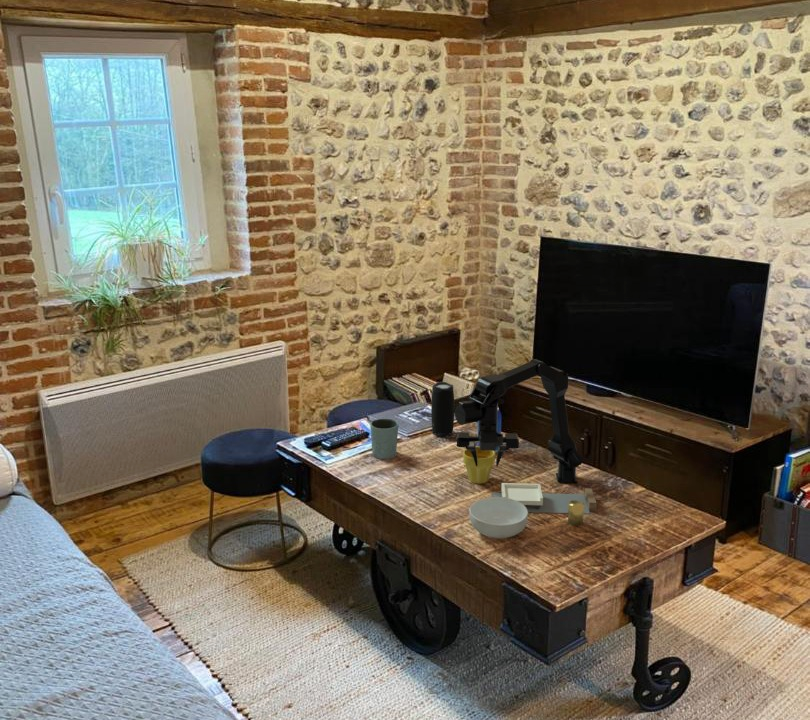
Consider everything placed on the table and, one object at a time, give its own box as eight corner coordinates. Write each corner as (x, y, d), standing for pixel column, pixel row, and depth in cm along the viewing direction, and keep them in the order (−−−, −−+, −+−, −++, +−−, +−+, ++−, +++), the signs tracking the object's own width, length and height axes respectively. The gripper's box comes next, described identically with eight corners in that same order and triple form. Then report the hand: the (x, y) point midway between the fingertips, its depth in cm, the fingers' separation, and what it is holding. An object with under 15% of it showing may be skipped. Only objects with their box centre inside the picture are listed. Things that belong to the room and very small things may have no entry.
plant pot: (479, 489, 258) (479, 461, 255) (456, 479, 266) (456, 451, 263) (500, 480, 265) (501, 452, 262) (478, 470, 272) (478, 443, 269)
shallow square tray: (501, 494, 254) (501, 483, 253) (539, 495, 253) (540, 483, 252) (502, 508, 245) (503, 497, 243) (542, 509, 244) (542, 498, 243)
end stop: (584, 496, 252) (584, 488, 252) (590, 497, 252) (591, 488, 251) (589, 511, 243) (589, 502, 242) (595, 511, 243) (596, 502, 242)
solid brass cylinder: (566, 518, 239) (567, 500, 237) (581, 519, 238) (583, 500, 237) (568, 525, 235) (569, 507, 233) (584, 526, 234) (585, 507, 233)
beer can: (501, 454, 285) (502, 412, 280) (477, 454, 285) (478, 412, 280) (499, 445, 293) (500, 404, 288) (476, 445, 293) (476, 404, 288)
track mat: (491, 492, 256) (491, 492, 256) (583, 494, 254) (583, 494, 254) (493, 511, 243) (493, 510, 243) (589, 513, 241) (589, 513, 241)
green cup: (382, 446, 293) (381, 416, 289) (404, 453, 287) (404, 421, 283) (364, 456, 285) (364, 424, 281) (387, 462, 279) (387, 430, 276)
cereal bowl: (458, 524, 236) (459, 502, 234) (508, 513, 242) (508, 492, 240) (486, 551, 221) (487, 528, 219) (538, 539, 227) (539, 516, 225)
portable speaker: (433, 438, 299) (433, 389, 294) (429, 429, 308) (429, 381, 303) (456, 437, 300) (456, 388, 295) (451, 428, 309) (452, 380, 304)
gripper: (456, 427, 235) (456, 476, 239) (520, 428, 234) (519, 478, 238) (457, 414, 245) (456, 461, 250) (518, 415, 244) (516, 462, 249)
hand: (486, 466), depth 246 cm, fingers open, 6 cm apart
